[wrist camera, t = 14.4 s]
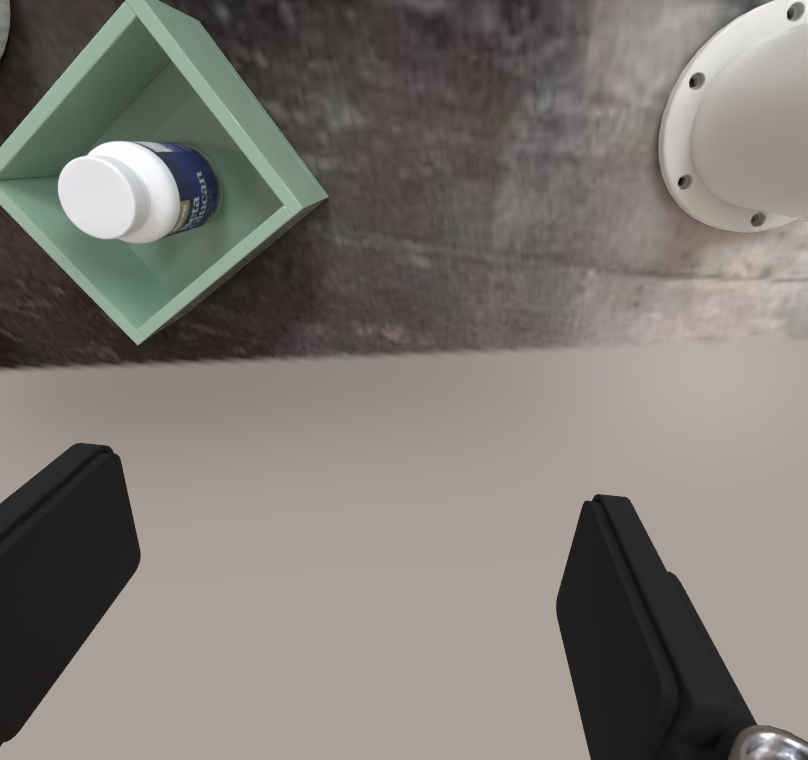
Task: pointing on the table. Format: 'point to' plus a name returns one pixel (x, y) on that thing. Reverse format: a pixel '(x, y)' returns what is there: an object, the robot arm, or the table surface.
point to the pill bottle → (140, 190)
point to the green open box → (155, 122)
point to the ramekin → (4, 24)
